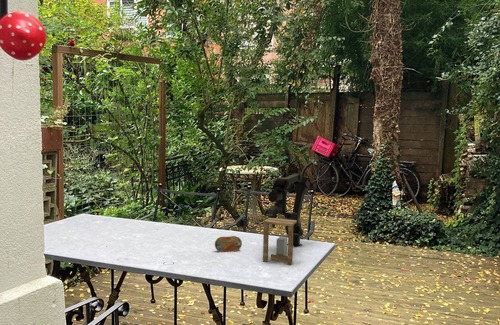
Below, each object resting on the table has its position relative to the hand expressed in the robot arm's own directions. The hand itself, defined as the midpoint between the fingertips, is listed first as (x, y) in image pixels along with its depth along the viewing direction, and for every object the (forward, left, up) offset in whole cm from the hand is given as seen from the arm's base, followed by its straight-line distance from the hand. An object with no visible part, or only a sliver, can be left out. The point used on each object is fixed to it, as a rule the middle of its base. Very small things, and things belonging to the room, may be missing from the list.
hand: (279, 228), depth 254 cm
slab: (+8, +8, -13) cm, 18 cm away
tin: (+20, -20, -14) cm, 31 cm away
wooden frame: (+11, +10, -13) cm, 20 cm away
